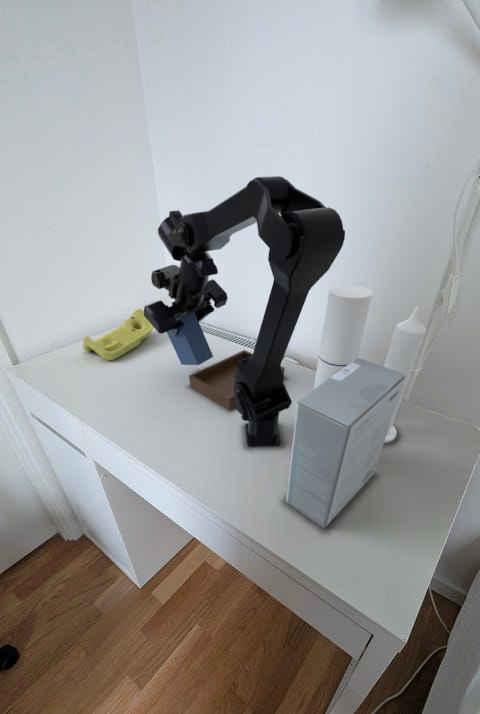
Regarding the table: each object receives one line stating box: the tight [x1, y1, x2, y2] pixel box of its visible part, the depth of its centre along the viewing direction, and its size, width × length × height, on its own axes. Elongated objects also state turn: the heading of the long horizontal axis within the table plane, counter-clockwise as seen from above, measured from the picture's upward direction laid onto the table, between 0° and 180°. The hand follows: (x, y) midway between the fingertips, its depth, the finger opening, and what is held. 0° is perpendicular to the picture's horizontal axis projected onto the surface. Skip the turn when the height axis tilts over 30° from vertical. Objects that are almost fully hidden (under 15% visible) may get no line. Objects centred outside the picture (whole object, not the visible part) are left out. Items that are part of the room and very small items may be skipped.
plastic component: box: [82, 308, 154, 361], centre depth 97 cm, size 20×7×10 cm
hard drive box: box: [285, 357, 405, 529], centre depth 50 cm, size 16×8×20 cm, turn 136°
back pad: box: [166, 312, 214, 366], centre depth 80 cm, size 9×4×13 cm, turn 38°
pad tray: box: [188, 349, 286, 411], centre depth 81 cm, size 19×14×3 cm
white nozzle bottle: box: [383, 306, 427, 444], centre depth 60 cm, size 7×7×25 cm
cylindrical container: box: [313, 284, 373, 390], centre depth 65 cm, size 7×7×25 cm
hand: (182, 330), depth 80 cm, fingers closed on back pad, 5 cm apart
